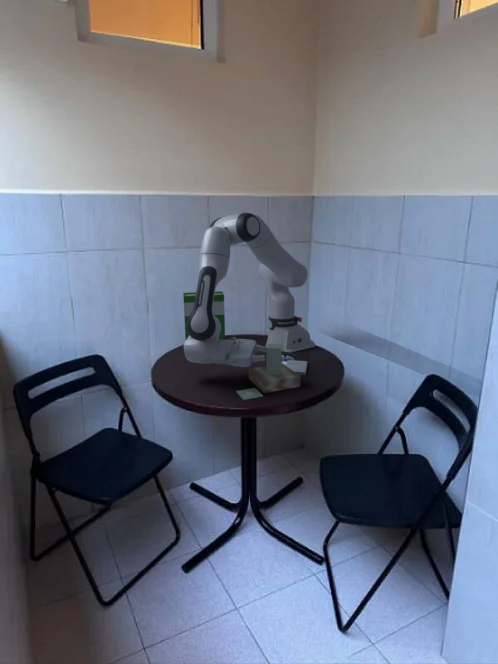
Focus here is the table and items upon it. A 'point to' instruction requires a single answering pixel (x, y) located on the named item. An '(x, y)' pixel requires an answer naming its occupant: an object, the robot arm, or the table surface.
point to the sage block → (274, 359)
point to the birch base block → (274, 379)
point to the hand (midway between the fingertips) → (266, 353)
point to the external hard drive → (297, 366)
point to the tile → (249, 394)
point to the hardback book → (216, 310)
